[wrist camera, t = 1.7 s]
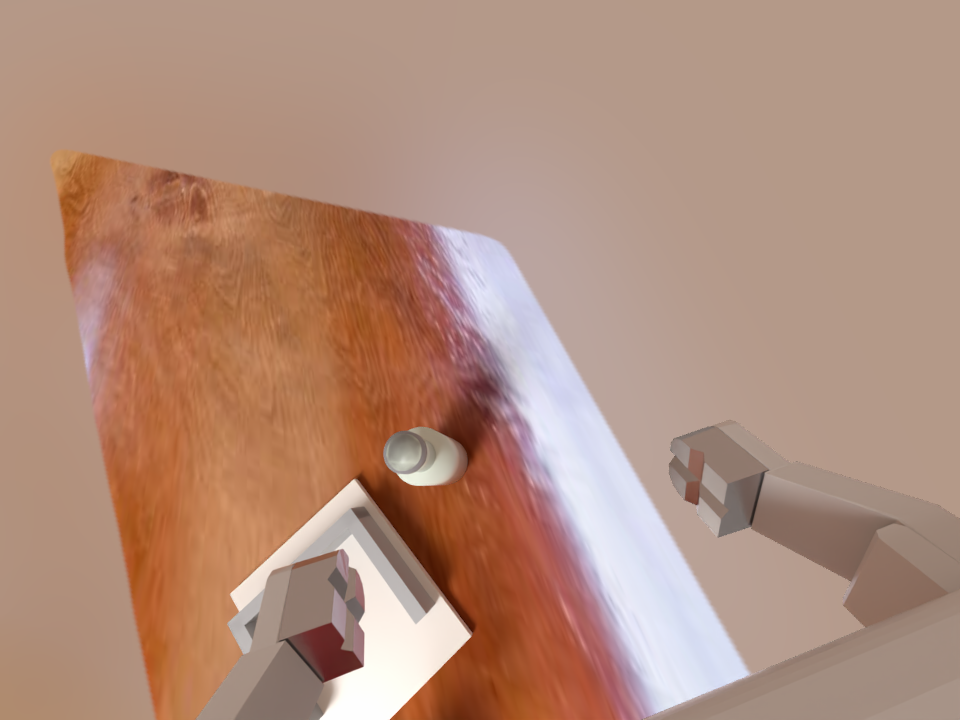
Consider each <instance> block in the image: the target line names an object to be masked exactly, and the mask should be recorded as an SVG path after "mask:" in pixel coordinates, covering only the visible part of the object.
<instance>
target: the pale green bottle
mask: <svg viewBox="0 0 960 720" xmlns="http://www.w3.org/2000/svg"><path fill="white" fill-rule="evenodd" d="M384 460H385V463H386V465H387V466H388V468H389V469H390V470H392V471H393V472H395V473H397V474H398V476H399V477H400V478H401V479H402V480H403V481H405V482H407V483H409V484H411V485H416V486H424V485H450V484H453V483H455V482H457V481H458V480H459V479H461V477H462V476H463V475H464V473H465V471H466V469H467V465H468V457H467V453H466V451H465V449H464V447H463V446H462V445H461V444H460V443H459V442H457V441H456V440H454V439H452V438H449V437H447V436H445V435H443V434H441V433H439V432H437V431H435V430H433V429H431V428H427V427H417V428H413V429H410V430H408V431H400V432H397V433H395V434H394V435H392V436H391V437H390V438H389V440H388V441H387V443H386V445H385V448H384Z"/></svg>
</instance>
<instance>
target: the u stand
mask: <svg viewBox="0 0 960 720" xmlns="http://www.w3.org/2000/svg"><path fill="white" fill-rule="evenodd" d="M340 549H344V551H345V552H346V554H347V555H348V557H349V567H351V568H354V569H356V570H357V572H358V574H359V575H360V578H361V581H362V584H363V590H364V597H365V613H364V614H363V616H362V618H361V620H360V622H359V623H358V624H359V625H360V627H361V628H362V630H363V631H364V633H365V637H364V667H362V668H360V669H357V670H354V671H352V672H349V673H347V674H344V675H342V676H339V677H337V678H334V679H332V680H329V681H327V682H324V683H323V684H324V687H323V690H322V692H321V694H320V696H319V698H318V700H317V703H316V705H315V707H314V709H313V711H312V714H311V716H310V718H309V720H389V719H390V718H391V717H392V716H393V715H394V714H395V713H396V712H397V711H398V710H399V709H400V708H401V707H402V706H403V705H404V704H405V703H406V702H407V701H408V700H409V699H410V698H411V697H412V696H413V695H414V694H415V693H416V692H417V691H418V690H419V689H420V688H421V687H422V686H423V685H424V684H425V683H426V682H427V681H428V680H429V679H430V678H431V677H432V676H433V675H434V674H435V673H436V672H437V671H438V670H439V669H440V668H441V667H442V666H443V665H444V664H445V663H446V662H447V661H448V660H449V659H450V658H451V657H452V656H453V655H454V654H455V653H456V651H457V650H458V649H459V648H460V647H461V646H462V645H463V644H464V643H465V642H466V641H467V640H468V639H469V638H470V637H471V636H472V634H473V633H472V632H471V630H470V629H469V628H468V626H467V625H466V624H465V622H464V621H463V620H462V618H461V617H460V616H459V614H458V613H457V612H456V610H455V609H454V608H453V606H452V605H451V604H450V602H449V601H448V600H447V598H446V597H445V596H444V594H443V593H442V592H441V590H440V589H439V588H438V586H437V585H436V584H435V582H434V581H433V580H432V578H431V577H430V576H429V574H428V573H427V571H426V570H425V569H424V567H423V566H422V565H421V563H420V562H419V561H418V559H417V558H416V557H415V555H414V554H413V553H412V551H411V550H410V549H409V547H408V546H407V545H406V543H405V542H404V541H403V539H402V538H401V537H400V535H399V534H398V533H397V531H396V530H395V529H394V527H393V526H392V525H391V523H390V522H389V521H388V519H387V518H386V517H385V515H384V514H383V513H382V511H381V510H380V509H379V507H378V506H377V505H376V503H375V502H374V500H373V499H372V498H371V496H370V495H369V494H368V492H367V491H366V490H365V488H364V487H363V486H362V484H361V483H360V482H359V480H358V479H353V480H352V481H351V482H350V483H349V484H348V485H347V486H346V487H345V488H344V489H343V490H342V491H341V492H339V493H338V494H337V495H336V496H335V497H334V498H333V499H332V500H331V501H330V502H329V503H328V504H327V505H325V506H324V507H323V508H322V509H321V510H320V511H319V512H318V513H317V514H316V515H315V516H314V517H313V518H311V519H310V520H309V521H308V522H307V523H306V524H305V525H304V526H303V527H302V528H301V529H300V530H299V531H297V532H296V533H295V534H294V535H293V536H292V537H291V538H290V539H289V540H288V541H287V542H286V543H285V544H283V545H282V546H281V547H280V548H279V549H278V550H277V551H276V552H275V553H274V554H273V555H272V556H270V557H269V558H268V559H267V560H266V561H265V562H264V563H263V564H262V565H261V566H260V567H259V568H258V569H256V570H255V571H254V572H253V573H252V574H251V575H250V576H249V577H248V578H247V579H246V580H245V581H244V582H242V583H241V584H240V585H239V586H238V587H237V588H236V589H235V590H234V591H233V592H232V593H231V594H230V595H231V597H232V599H233V601H234V603H235V604H236V606H237V608H238V610H239V613H238V614H237V615H236V616H235V617H234V618H232V619H231V620H230V621H229V622H228V623H227V624H228V626H229V628H230V630H231V632H232V634H233V635H234V637H235V639H236V641H237V643H238V645H239V647H240V648H241V650H242V652H243V654H246V653H249V652H250V648H251V644H252V640H253V636H254V631H255V627H256V623H257V619H258V615H259V611H260V607H261V602H262V598H263V594H264V590H265V586H266V582H267V578H268V577H269V575H270V573H271V572H272V570H275V569H278V568H281V567H284V566H288V565H291V564H294V563H297V562H300V561H303V560H307V559H310V558H313V557H317V556H320V555H323V554H327V553H330V552H333V551H337V550H340Z"/></svg>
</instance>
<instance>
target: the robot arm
mask: <svg viewBox="0 0 960 720" xmlns="http://www.w3.org/2000/svg"><path fill="white" fill-rule="evenodd" d="M670 450H671V452H672V453H673V454H674V455H675V456H674V458H673V459H672V461H671V462H670V463H669V475H670V478H671V480H672V483H673V485H674V487H675V488H676V490H677V492H678V493H679V494H680V495H681V497H682V498H683V499H684V500H685V501H688V502H690V503H692V504H695V505H697V515H698V516H699V517H700V518H701V519H702V521H703V522H704V523H705V524H706V525H707V526H708V527H709V528H710V530H711V531H712V532H713V533H714V534H715V535H716V536H717V537H721V536H724V535H727V534H730V533H733V532H737V531H740V530H742V529H745V528H749V527H751V529H753V530H754V531H756V532H758V533H760V534H762V535H764V536H766V537H768V538H770V539H772V540H774V541H775V542H777V543H779V544H781V545H783V546H785V547H787V548H789V549H791V550H792V551H794V552H796V553H798V554H800V555H802V556H804V557H806V558H807V559H809V560H811V561H813V562H815V563H817V564H819V565H821V566H823V567H825V568H826V569H828V570H830V571H832V572H834V573H836V574H838V575H840V576H842V577H844V578H845V579H848V580H849V581H851V583H850V585H849V587H848V589H847V591H846V593H845V595H844V597H843V606H844V607H846V608H847V610H848V611H849V612H851V614H853V615H854V617H856V619H858V620H859V621H860V622H861V623H862V624H863V625H864V626H865V627H866V628H863V629H861V630H859V631H856V632H854V633H851V634H849V635H846V636H844V637H841V638H839V639H837V640H834V641H832V642H829V643H827V644H824V645H822V646H820V647H817V648H815V649H813V650H810V651H807V652H805V653H802V654H800V655H798V656H795V657H793V658H790V659H788V660H785V661H783V662H781V663H778V664H776V665H773V666H771V667H769V668H766V669H764V670H761V671H759V672H757V673H754V674H751V675H749V676H747V677H744V678H742V679H739V680H737V681H734V682H732V683H730V684H727V685H725V686H722V687H720V688H717V689H715V690H713V691H710V692H708V693H705V694H703V695H700V696H698V697H695V698H693V699H691V700H688V701H686V702H683V703H681V704H678V705H676V706H674V707H671V708H669V709H666V710H664V711H661V712H659V713H657V714H654V715H652V716H649V717H647V718H644V719H642V720H960V518H958V517H956V516H955V515H953V514H952V513H950V512H949V511H947V510H945V509H944V508H942V507H941V506H939V505H937V504H933V503H930V502H927V501H924V500H921V499H917V498H914V497H911V496H908V495H904V494H901V493H898V492H895V491H892V490H888V489H885V488H882V487H878V486H875V485H872V484H869V483H866V482H862V481H859V480H856V479H852V478H850V477H846V476H843V475H840V474H837V473H833V472H830V471H827V470H823V469H820V468H817V467H814V466H811V465H807V464H804V463H801V462H798V461H796V462H793V463H790V462H789V461H788V460H786V459H785V458H784V457H782V456H781V455H780V454H778V453H777V452H776V451H774V450H773V449H772V448H770V447H769V446H768V445H767V444H765V443H764V442H762V441H761V440H760V439H759V438H757V437H756V436H755V435H753V434H752V433H751V432H749V431H748V430H746V429H745V428H744V427H743V426H741V425H740V424H739V423H737V422H735V421H732V420H728V421H725V422H722V423H719V424H716V425H713V426H710V427H706V428H703V429H700V430H697V431H694V432H691V433H688V434H686V435H683V436H680V437H677V438H674V439H673V441H672V442H671V448H670ZM364 613H365V597H364V590H363V584H362V581H361V578H360V575H359V574H358V572H357V570H356V569H354V568H351V567H349V557H348V555H347V554H346V552H345V551H344V549H340V550H337V551H333V552H330V553H327V554H323V555H320V556H317V557H313V558H310V559H307V560H303V561H300V562H297V563H294V564H291V565H288V566H284V567H281V568H278V569H275V570H272V572H271V573H270V575H269V577H268V578H267V582H266V586H265V590H264V594H263V598H262V602H261V607H260V611H259V615H258V619H257V623H256V627H255V631H254V636H253V640H252V644H251V648H250V652H249V653H246V654H244V655H242V656H241V657H240V659H239V660H238V661H237V663H236V664H235V666H234V667H233V668H232V670H231V671H230V672H229V674H228V675H227V677H226V678H225V679H224V681H223V682H222V684H221V685H220V686H219V688H218V689H217V690H216V692H215V693H214V695H213V696H212V697H211V699H210V700H209V702H208V703H207V704H206V706H205V707H204V708H203V710H202V711H201V713H200V714H199V715H198V717H197V718H196V720H309V718H310V716H311V714H312V711H313V709H314V707H315V705H316V703H317V700H318V698H319V696H320V694H321V692H322V690H323V687H324V684H323V683H324V682H327V681H329V680H332V679H334V678H337V677H339V676H342V675H344V674H347V673H349V672H352V671H354V670H357V669H360V668H362V667H364V637H365V633H364V631H363V630H362V628H361V627H360V625H359V624H358V623H359V622H360V620H361V618H362V616H363V614H364Z"/></svg>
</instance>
